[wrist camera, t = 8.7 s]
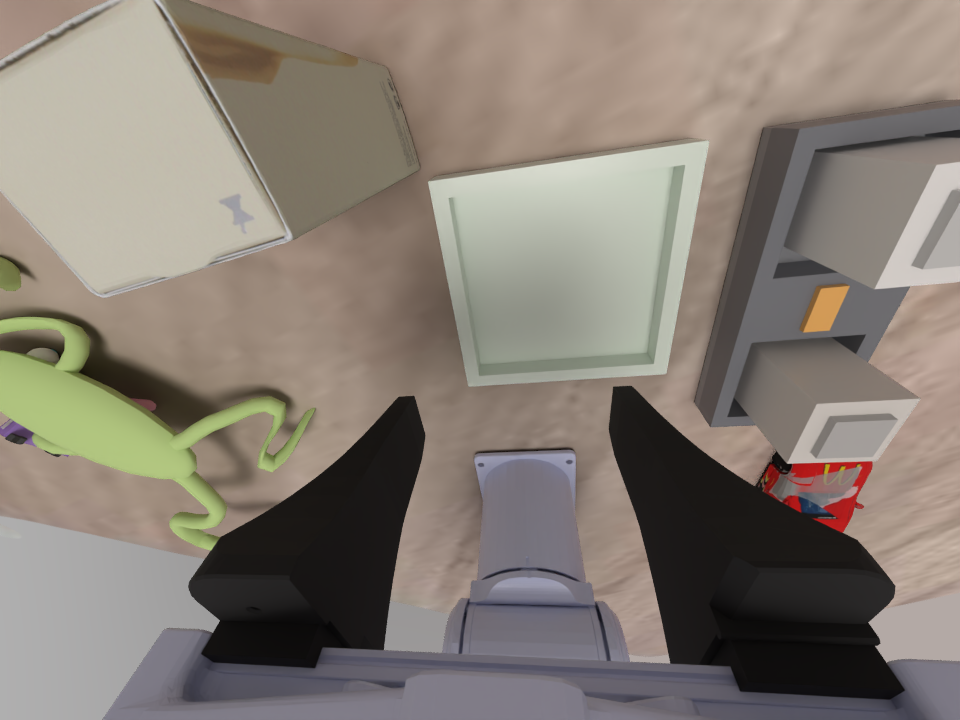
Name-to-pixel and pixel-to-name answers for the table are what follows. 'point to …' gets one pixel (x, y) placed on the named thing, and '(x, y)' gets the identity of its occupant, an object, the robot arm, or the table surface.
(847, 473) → the race car
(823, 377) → the twin plug
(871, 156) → the plug
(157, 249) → the skincare box
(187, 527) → the figurine
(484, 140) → the table surface
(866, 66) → the table surface
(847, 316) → the strip
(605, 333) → the tray
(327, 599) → the robot arm
